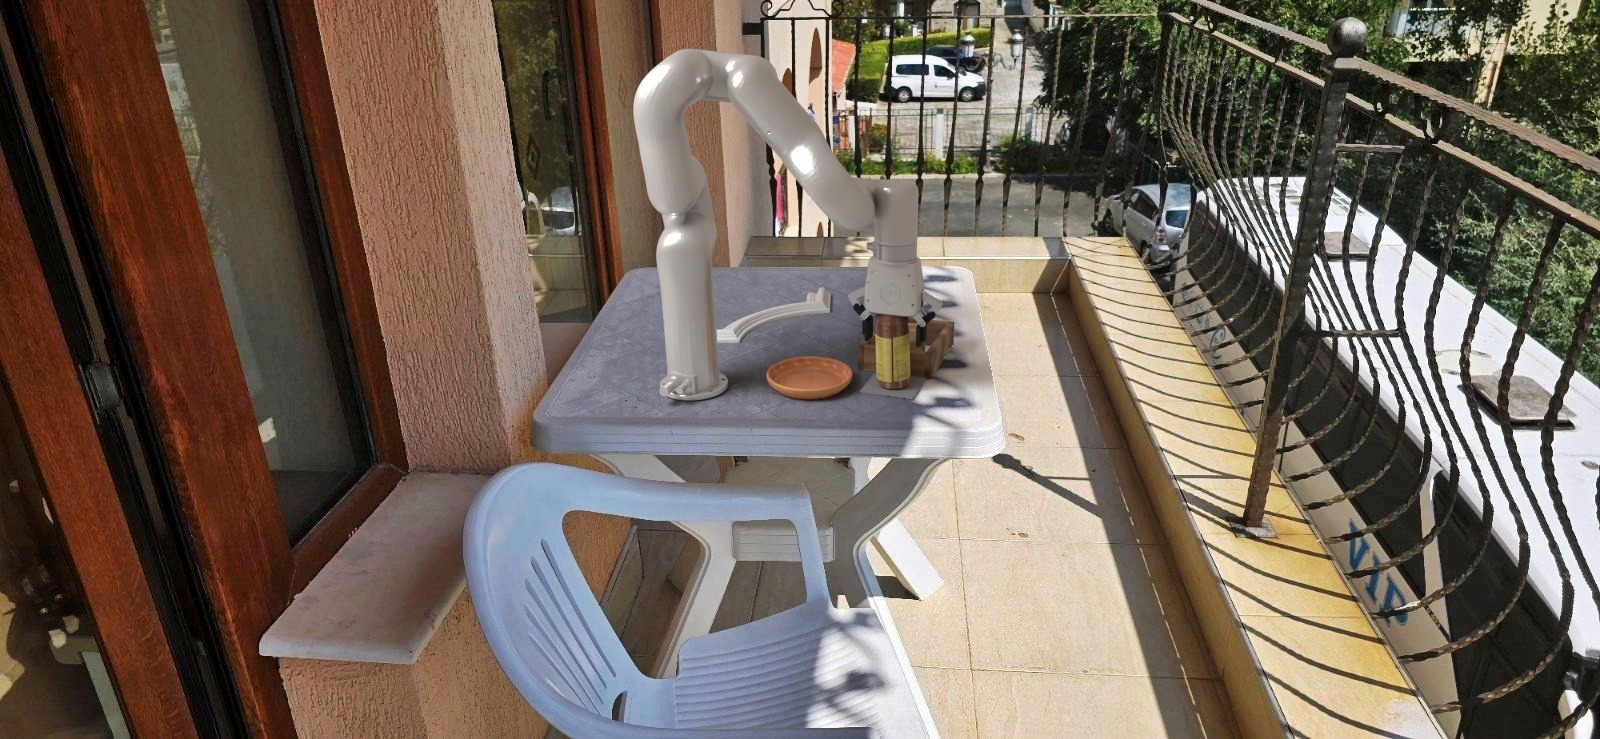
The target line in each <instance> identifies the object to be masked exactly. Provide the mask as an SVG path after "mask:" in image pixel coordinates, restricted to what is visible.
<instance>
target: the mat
mask: <svg viewBox="0 0 1600 739" xmlns="http://www.w3.org/2000/svg"><path fill="white" fill-rule="evenodd" d="M926 381H927V378H925V377H917V376H910V382H909V385H908V386H906V387H905V388H902V389H895V390H892V389H886V388H882V387H881V386H880V385H879V384H878V381H877V374H876V372H873V374H872V375H871V377H870V378H869V379H868V380H867V381H866V383H865V384H864V385H863V387H862V388H861V389H860V390H859V394H866V395H872V396H879V395H881V397H887V396H891V397H890V398H894V397H899V398H898V399H902V398H906V399H905V400H909V399H911V401H913V400H914V399H913V398H915V397H916V396H917V394H918V393H919V391H920V389H921V388H922V387H923V386H924V384H925V382H926Z"/></svg>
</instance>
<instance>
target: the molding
mask: <svg viewBox="0 0 1600 739" xmlns="http://www.w3.org/2000/svg"><path fill="white" fill-rule="evenodd" d="M831 300H832V293H831V292H828V290H827V289H826V288H825V287H824V286H821V287H819V288H818V290H817V293H815V292H808V293H807V294H806V300H805V301H802V302H793V303H789V304H784V305H778V306H774V307H770V308H767V309H762V310H761V311H758V312H754V313H751V314H748V315H746V316H743V317H741V318H739V319H737V320H736V321H733V322H731V323H729V324H728V325H727V326H726V327H724V328H722V329H721V328H720V329H717V344H740V342H741V341H742V339H743V338H744V337H745V336H746V335H747V334H748V333H750V332H751V331H753V330H755V329H756V328H759V327H761V326H763V325H765V324H768V323H771V322H774V321H775V322H776V321H778V320H782V319H786V318H787V319H788V318H790V317H797V316H804V315H813V314H814V315H815V314H828V313H829V314H830V313H831Z"/></svg>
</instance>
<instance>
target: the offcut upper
mask: <svg viewBox="0 0 1600 739" xmlns="http://www.w3.org/2000/svg"><path fill="white" fill-rule="evenodd" d="M917 325H918V323H908V327H909V343H910V349H911V350H919V351H923V349H924V342H923V344H922V345H921V346H920V347H917V346H916V327H917Z"/></svg>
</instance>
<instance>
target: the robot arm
mask: <svg viewBox="0 0 1600 739" xmlns="http://www.w3.org/2000/svg"><path fill="white" fill-rule="evenodd" d="M633 99H634V100H633V108H632V110H633V120H634V121H633V122H634V128H635V133H636V138H637V141H638V142H637V143H638V148H639V155H640V160H641V164H642V169H643V174H644V180H645V186H646V191H647V196H648V199H649V201H650V203H651V206H652V207H653V208H654V209H655V210H656V211H658V212H659V213H660V214H661V216H662V217H661V218H662V222H663V226H664V229H663V230H662V233H661V234H660V237H659V239H658V241H657V246H656V254H655V255H656V256H655V258H656V259H655V260H656V267H657V274H658V279H659V280H658V281H659V287H660V296H661V305H662V306H661V308H662V309H661V310H662V318H663V329H664V333H663V334H664V343H665V355H666V356H665V357H666V370H667V372H666V373H667V374H666V376H665V377H664V378H663V379H661V381H660V383H659V387H660V388H659V390H658V392H659V394H660V395H661V396H662V397H664V398H665V397H668V398H670V399H673V400H678V401H700V400H707V399H710V398H714V397H716V396H719V395H721V394H723V393H724V392H725V391H727V389H728V387H729V380H728V378H727V376H726V375H725V374H723V373H721V372H720V366H719V364H720V363H719V349H718V348H719V347H718V343H717V314H716V300H715V285H714V283H715V282H714V277H713V263H712V260H713V253H714V250H715V247H716V244H717V239H718V238H717V237H718V234H717V225H716V219H715V215H714V209H713V205H712V199H711V198H712V197H711V192H710V188H709V184H708V179H707V174H706V172H705V169H704V167H703V165H702V163H701V162H700V161H699V160H698V159H697V158H696V157H695V156H693V155H692V152H691V148H690V141H689V134H688V130H687V127H686V124H685V114H686V111H687V109H688V108H689V107H690V106H692V105H694V104H695V103H697V102H698V101H700V100H703V101H710V102H711V101H713V102H722V103H731V104H732V105H733V106H734V108H736V111H738V112H739V113H740V114H741V115H742V117H743V118H744V119H745V120H746V121H747V122H748V124H750V125H751V127H752V128H753V129H754V130H755V132H756V133H758V134H759V136H760V137H761V138H762V139H763V140H764V141H765V143H767V145H768V147H770V148H771V150H772V151H773V152H774V153H775V154H776V155H777V157H778V158H779V159H780V160H781V162H782V163H783V164H784V166H785V168H786V169H787V170H788V171H789V173H790V174H792V176H793V177H794V179H795V180H796V181H797V182H798V184H799V185H800V186H801V187H802V189H803V190H804V191H805V193H806V194H807V196H809V197H810V199H811V200H812V201H813V203H814V204H816V206H817V207H818V208H819V209H820V210H821V211H822V213H823V214H824V215H825V216H826V217H827V218H828V219H829V220H830V222H831V223H832V224H834V225H835V226H836V227H837V228H839V229H840V230H841V231H844V232H848V233H859V232H861V231H864V230H865V229H866V228H868V227H869V226H870V225H871V224H872V222H873V223H874V226H873V227H874V229H873V230H874V232H873V233H874V235H873V236H874V239H873V241H871V242H870V241H869V242H866V247H865V248H866V250H868V251H871V252H872V256H870V258H868V264H867V270H866V277H865V286H862V287H860V288H858V289H856V290H854V291H851V292H850V293H849V294H848V296H847V298H848V301H849V302H850V304H851V305H852V309H853V310H854V311H855V312H856V313H857V315H858V316H859V318H860V320H861V323H862V324H861V327H862V329H861V330H862V332H861V334H862V335H863V336H864V338H865V341H869V340H870V339H871V338H872V336H873V328H874V316H873V315H872V314H875V315H876V314H882V315H891V316H901V317H910V318H914V319H915V320H916V321H917V322H918V325H917V327H916V346H917V347H920V346H921V345H922V344H923V342H925V341H926V338H927V323H929V322H930V321H931V320H934V319H935V317H936V316H937V315H938V313H939V312H940V310H941V308H942V307H943V301H942V300H940V299H938V298H937V297H935V296H934V295H931V293H929V292H927V291H926V290H925V286H924V285H925V284H924V274H923V273H924V272H923V268H922V261H921V258H920V257H919V256H918V220H919V217H918V216H919V215H918V214H919V189H918V185H917V184H916V183H915V182H914V181H912V180H909V179H905V178H890V179H884V180H878V179H872V178H871V179H870V178H863V177H857V176H856V177H855V176H853V177H852V175H851V174H850V173H849V172H848V171H847V170H846V168H845V167H844V166H843V164H842V163H841V162H840V160H839V159H838V157H836V155H835V154H834V152H833V150H832V149H831V147H830V144H828V141H827V139H826V137H825V134H824V133H823V130H822V129H821V127H820V126H819V125H818V123H817V121H816V120H815V119H814V118H813V117H812V116H811V114H810V113H809V112H808V111H807V109H805V108H804V107H803V106H802V104H801V103H800V102H799V101H798V100H797V99H796V97H795V96H794V95H793V94H792V93H791V92H790V91H789V89H788V88H787V87H786V86H785V85H784V83H783V82H782V81H781V80H780V79H779V77H778V73H777V70H776V68H775V67H774V65H773V64H772V63H771V62H770V61H769V60H767V59H766V58H764V57H762V56H759V55H753V54H744V53H732V52H724V51H717V50H716V51H715V50H707V49H701V48H700V49H697V48H684V49H680V50H677V51H675V52H674V53H672V54H671V55H669V56H667V57H666V58H664V59H663V60H662V61H661V62H660V63H658V64H657V65H656V66H654V67H653V68H652V69H651V70H650V71H649V72H648V73H647V74H646V75H645V76H644V78H643V79H642V80H641V82H640V84H639V85H638V87H637V89H636V92H635V96H634V98H633ZM861 297H864V298H863V299H864V302H863V303H864V304H863V303H862V302H861V301H860V298H861ZM925 303H926V304H928V305H930V306H931V309H930V311H929V312H928V313H926V311H925V310H924V309H923V308H924V305H925Z"/></svg>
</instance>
